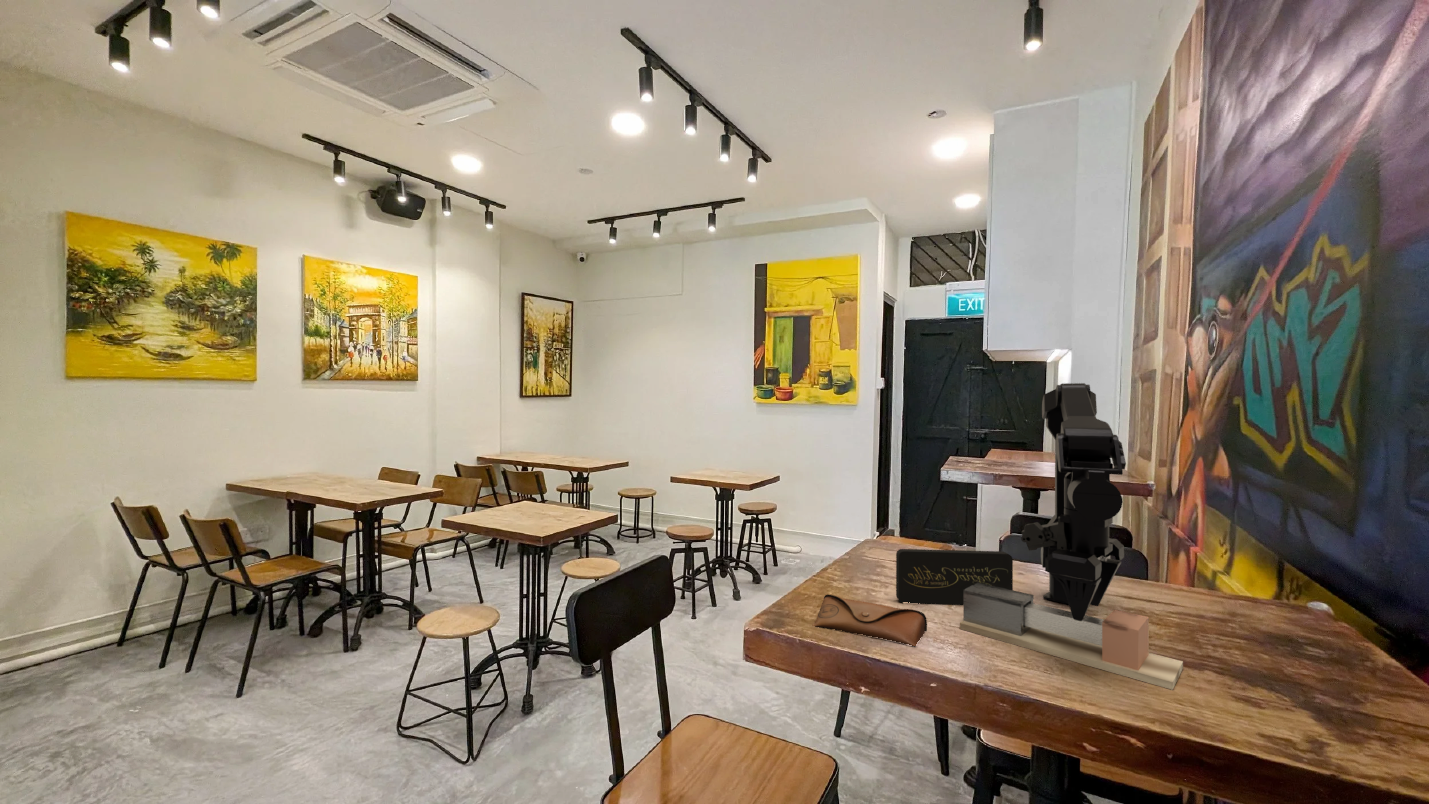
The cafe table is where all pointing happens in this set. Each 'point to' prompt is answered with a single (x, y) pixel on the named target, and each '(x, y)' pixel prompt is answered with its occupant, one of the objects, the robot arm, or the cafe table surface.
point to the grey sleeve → (996, 608)
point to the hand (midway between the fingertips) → (1086, 612)
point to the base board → (1086, 654)
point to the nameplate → (948, 574)
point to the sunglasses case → (871, 619)
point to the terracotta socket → (1125, 639)
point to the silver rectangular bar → (1062, 623)
